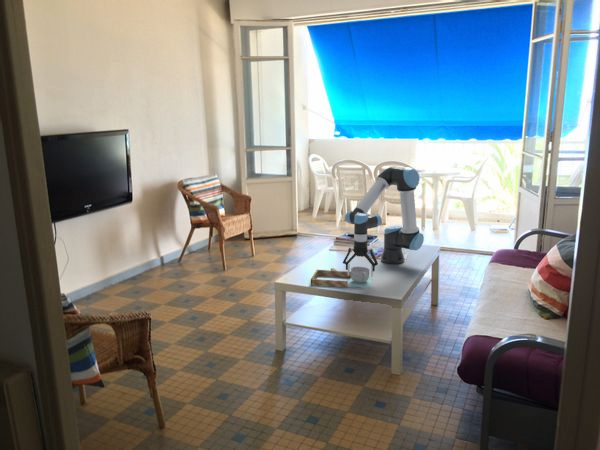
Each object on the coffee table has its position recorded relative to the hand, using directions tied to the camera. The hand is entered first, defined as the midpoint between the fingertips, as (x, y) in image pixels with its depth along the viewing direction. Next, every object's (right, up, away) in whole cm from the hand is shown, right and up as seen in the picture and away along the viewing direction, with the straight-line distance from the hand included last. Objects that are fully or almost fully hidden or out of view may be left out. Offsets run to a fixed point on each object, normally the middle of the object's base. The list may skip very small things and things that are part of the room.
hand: (360, 275), depth 307 cm
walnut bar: (-13, 0, +20) cm, 24 cm away
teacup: (0, -4, +1) cm, 4 cm away
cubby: (-16, -3, +5) cm, 17 cm away
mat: (0, -4, +1) cm, 4 cm away
